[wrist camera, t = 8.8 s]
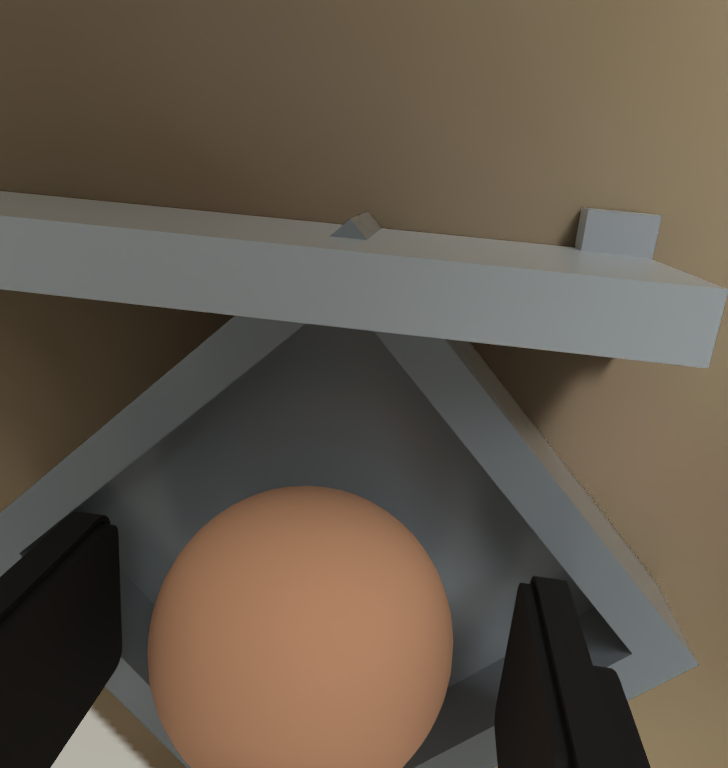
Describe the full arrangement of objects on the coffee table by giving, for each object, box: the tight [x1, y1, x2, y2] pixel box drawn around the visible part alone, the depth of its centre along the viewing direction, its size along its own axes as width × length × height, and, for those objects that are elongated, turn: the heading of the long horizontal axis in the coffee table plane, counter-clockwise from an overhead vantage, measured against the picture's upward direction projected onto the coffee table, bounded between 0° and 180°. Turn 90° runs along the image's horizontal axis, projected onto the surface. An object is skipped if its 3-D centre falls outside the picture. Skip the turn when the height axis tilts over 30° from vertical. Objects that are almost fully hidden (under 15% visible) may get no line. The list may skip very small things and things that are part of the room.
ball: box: [147, 486, 453, 768], centre depth 11 cm, size 5×5×5 cm
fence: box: [0, 191, 728, 368], centre depth 11 cm, size 2×15×4 cm, turn 85°
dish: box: [0, 211, 699, 768], centre depth 13 cm, size 10×10×2 cm
